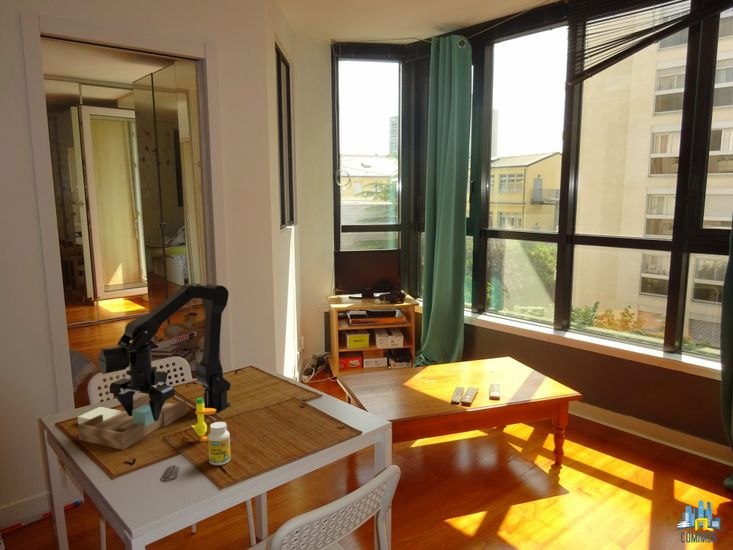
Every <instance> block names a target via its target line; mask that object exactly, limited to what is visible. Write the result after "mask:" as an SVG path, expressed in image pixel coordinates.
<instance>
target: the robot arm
mask: <svg viewBox="0 0 733 550" xmlns="http://www.w3.org/2000/svg"><path fill="white" fill-rule="evenodd" d="M229 296H230V295H229V290H228V289H227V287H225V286H224V285H220V284H216V283H207V284H205V285H200V284H193V283H192V284H191V283H184V284H183V285H182V286H180V288H179V289H178V290H176V291H175V292H174V293H173V294H172V295H170V296H169V297H168V298H166V299H165V300H164V301H163V302H161V303H160V304H159V305H158V306H156V307H155V308H154V309H152V310H151V311H150V312H148V313H146V314H143V315H141V316H138V317H137V318H134V319H133V320H131V321H129V322H128V323H127V324H126V325H125V326H124V333H123V334H122V336H121V337H120V339H119V340H118V342H117V344H116V345H117V346H112V347H102V348H101V349H100V353H99V355H98V359H97V362H98V363H97V364H98V368H99V371H100V372H101V374H102V375H107V374H111V373H116V372H119V371H124V370H126V369H127V368H129V369H128V370H126V373H125V374H126V375H128V376H129V378H127V377H126V378H125V377H123V378H121V379H119V380H118V379H117V380H116V381H113V382H111V384H110V386H109V394H113V395H112V396H113V397H115V398H116V399H117V401H118V402H119V404H120V405H121V407H122V409H123V408H124V409H125V411H126V412H127V414H128V415H129V416H132V410H133V400H134V395H135V393H142V394H144V395H145V394H149V405H150V408H151V412H152V416H153V419H154V421H157V420H158V419H159V416H160V413H161V410H162V407H163V404H164V402H165V403H166V402H167V400H169V399H171V398H172V397H174V396H175V395H176V392H175V387H174V386H172V385H168V384H167V380H168V376H169V372H167V371H160V370H157V369H156V367H155V366H153V365H152V350H153V349H158V348H159V345H158V344H156V343H155V342H154V341H153V340H152V339H153V338H154V337H155V336H156V334H158V332H159V330H160V328H161V327H162V326H163V324H164V323H165V322H167V320H169V319H170V318H171V317H172V316H173V315H175V314H176V313H177V312H178V311H180V310H181V309H182V308H183V307H185V306H186V305H187V304H188V303H189V302H191V301H192V300H193V299H200V300H201V303H202V307H203V309H204V312H205V318H204V320H205V321H204V335H203V338H204V339H203V349H202V350H203V351H202V355H203V356H202V358H201V360H200V362H195V365H194V366H195V371H194V374H193V375H194V376H195V378H196V380H197V382H198V383H200V385H201V386H202V388H204V393H203V401H204V408H214V409H216V412H215V413H220V412H221V411H223V410H225V409H227V408H228V407H230V406H231V403H230V402H228V391H230V388H231V385H232V384H231V382H229V381H228V380H227V379H225V378H224V371H223V366H222V363H221V361H220V348H221V347H220V345H221V343H220V342H221V331H222V330H221V329H222V315H223V313H224V311H225V308H226V307H227V304H228V301H229ZM159 383H163V384H160V385H158V384H159ZM157 385H158V386H157ZM153 386H156V387H153Z"/></svg>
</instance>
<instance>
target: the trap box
mask: <svg viewBox="0 0 733 550" xmlns="http://www.w3.org/2000/svg"><path fill="white" fill-rule="evenodd" d="M149 401H150V398H149V394H145V393H144V394H143V395H141V396H139V397H137V398H135V399H134V398H133V410H134V409H136V408H138V407H140V406H142V405H149ZM187 407H188V406H187V400H183V401H180V402H179V403H177V404H176V403H171V402H170V403H169V402H166V401H165V402H164V404H163V407H162V410H161V413H160V416H159V419H158V420H157V421H154V422H152V423H151V424H149V425H147V426H143V423H140V424H138V425H137V424H133V415H132V416H129V415H128V414H127V412H126V411H125V409H124V408H123V407H122V411H123V412H121V413H119V414H117V415H115V416H113V417H111V418H109V419H106V420H104V421H103V415H99V416H97V417H94V418H92V419H90V420H88V421H86V422H83V423H81V424H78V425H77V427H78V437H79V438H78V440H79V441H84V442H87V443H88V442H89V443H91V444H92V443H93V444H97V445H101V446H104V447H109V448H114V449H117V450H122V451H123V450H125V449H127V448H129V447H130V446H133V445H134V444H136V443H137V442H139V441H141V440H143V439H145V436H147V435H149V434H151V433H152V432H154V431H156V430H157V429H160V428H162V427H166V426H168V425H170V424H172V423H174V422H176V421H177V420H179V419H181V418H183V417H184V416H186V415H187V414H188V409H187Z"/></svg>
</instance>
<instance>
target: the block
mask: <svg viewBox="0 0 733 550" xmlns="http://www.w3.org/2000/svg"><path fill="white" fill-rule="evenodd" d="M132 415H133V424H137V425H138V424H140V423H143V426H147V425H149V424H151V423H152V422H154V419H153V416H152V412H151V408H150V405H142V406H140V407H138V408H136V409H134V410H132Z"/></svg>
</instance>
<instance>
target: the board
mask: <svg viewBox="0 0 733 550" xmlns="http://www.w3.org/2000/svg"><path fill="white" fill-rule="evenodd" d="M121 412H123V410H119V409H113V408H108V407H103V406H99V407H96V408H95V409H91V410H89V411H87V412H85V413H83V414H80V415H78V416H77V424H78V425H79V424H81V423H83V422H86V421H88V420H90V419H92V418H94V417H97V416H99V415H103V421H104V420H106V419H109V418H111V417H113V416H115V415H117V414H119V413H121Z"/></svg>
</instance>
